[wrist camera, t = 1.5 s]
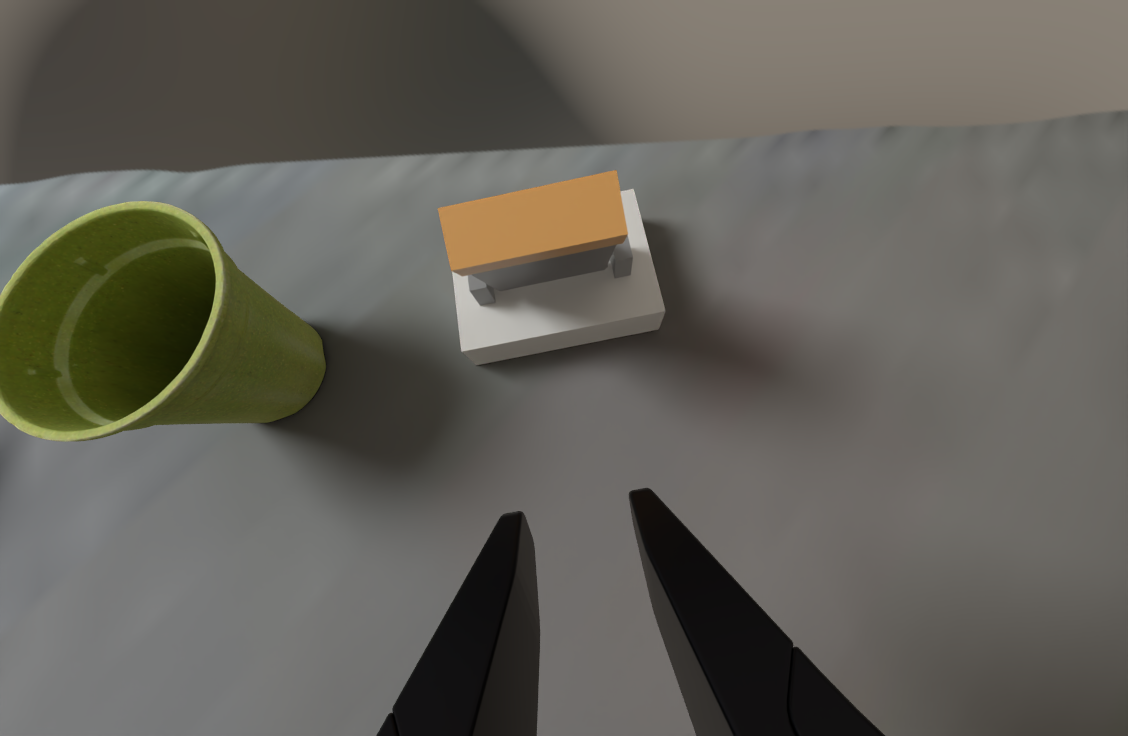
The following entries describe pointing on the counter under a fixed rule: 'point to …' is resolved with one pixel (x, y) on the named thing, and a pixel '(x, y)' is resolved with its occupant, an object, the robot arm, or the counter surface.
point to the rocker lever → (536, 232)
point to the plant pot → (146, 332)
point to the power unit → (563, 304)
